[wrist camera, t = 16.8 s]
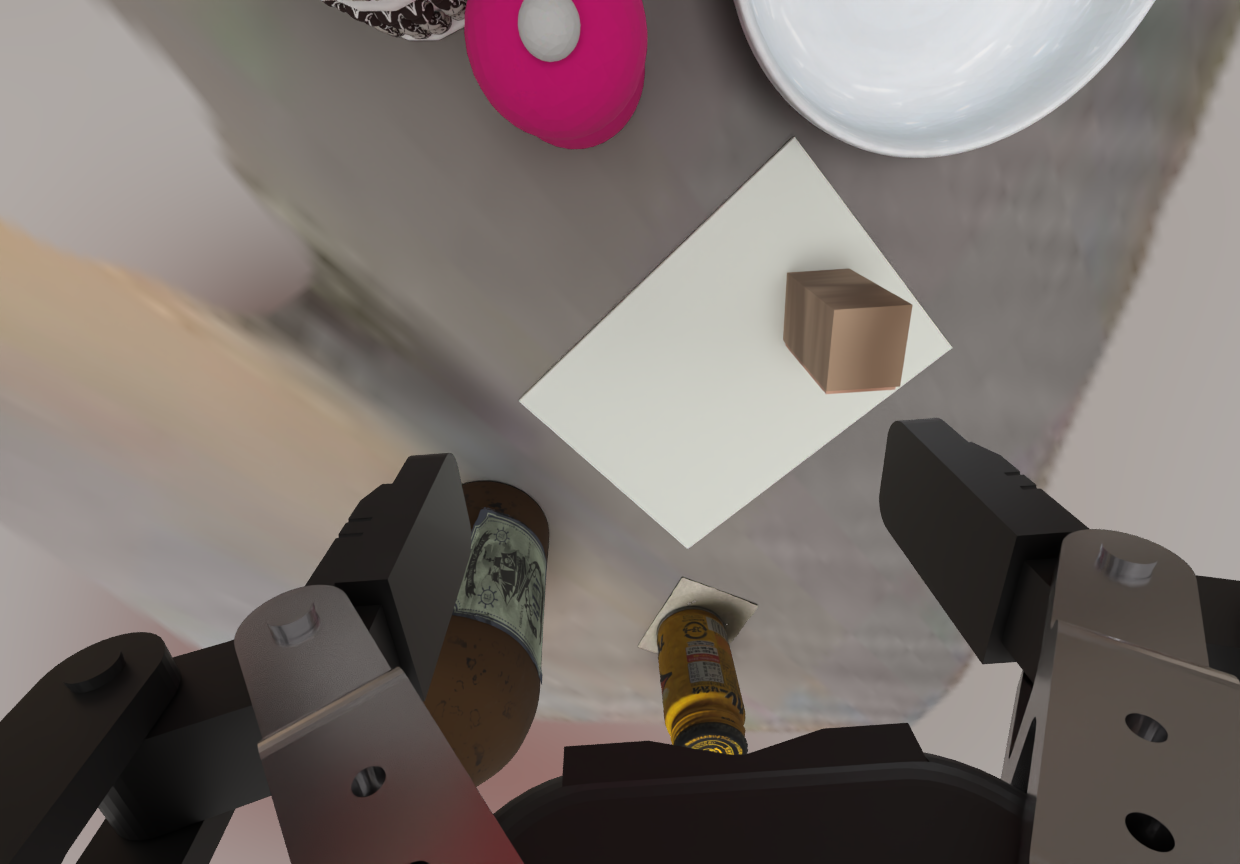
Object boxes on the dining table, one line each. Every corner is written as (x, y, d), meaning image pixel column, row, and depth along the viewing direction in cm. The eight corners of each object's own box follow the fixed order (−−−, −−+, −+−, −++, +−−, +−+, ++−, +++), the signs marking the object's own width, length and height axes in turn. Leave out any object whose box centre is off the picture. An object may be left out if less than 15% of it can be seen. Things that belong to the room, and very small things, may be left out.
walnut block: (782, 344, 41) (825, 396, 33) (786, 272, 39) (834, 309, 31) (841, 340, 41) (899, 391, 33) (849, 268, 39) (912, 304, 31)
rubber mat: (519, 398, 43) (518, 401, 43) (792, 136, 36) (794, 137, 36) (687, 545, 49) (687, 548, 49) (949, 346, 42) (952, 347, 42)
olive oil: (492, 604, 51) (407, 971, 29) (392, 527, 48) (206, 879, 25) (585, 534, 48) (569, 882, 26) (486, 446, 45) (369, 764, 22)
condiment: (637, 645, 54) (645, 773, 43) (682, 576, 51) (703, 696, 40) (709, 669, 56) (735, 799, 45) (757, 603, 52) (797, 726, 41)
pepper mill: (558, 172, 37) (516, 214, 19) (485, 51, 34) (353, -35, 16) (663, 100, 35) (725, 71, 17) (596, -33, 32) (586, -231, 14)
